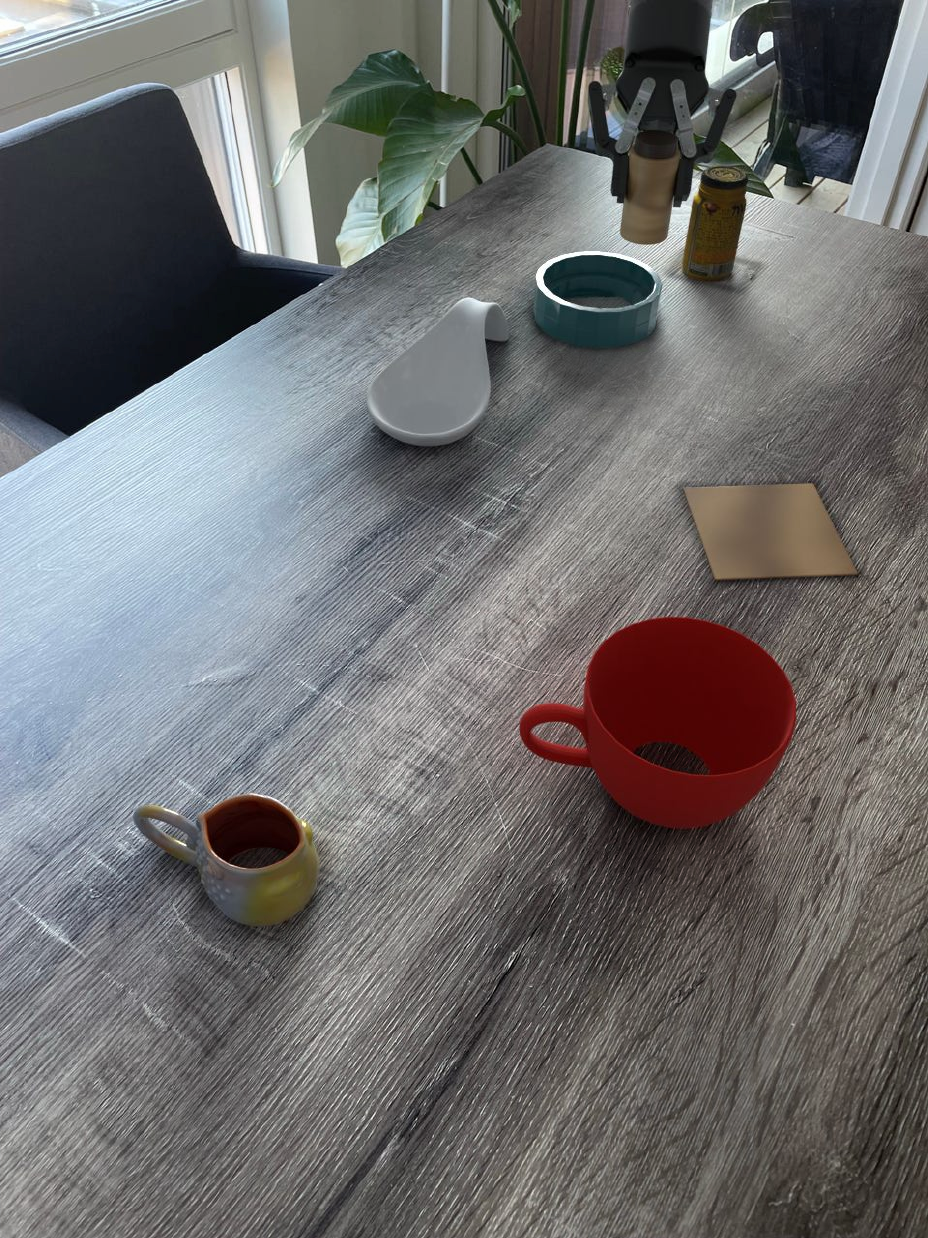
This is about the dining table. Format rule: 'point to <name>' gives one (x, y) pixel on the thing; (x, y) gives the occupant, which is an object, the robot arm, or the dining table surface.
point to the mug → (234, 832)
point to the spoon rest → (439, 378)
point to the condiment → (715, 224)
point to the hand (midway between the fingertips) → (649, 201)
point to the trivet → (767, 532)
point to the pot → (596, 280)
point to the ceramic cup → (676, 719)
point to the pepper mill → (650, 187)
